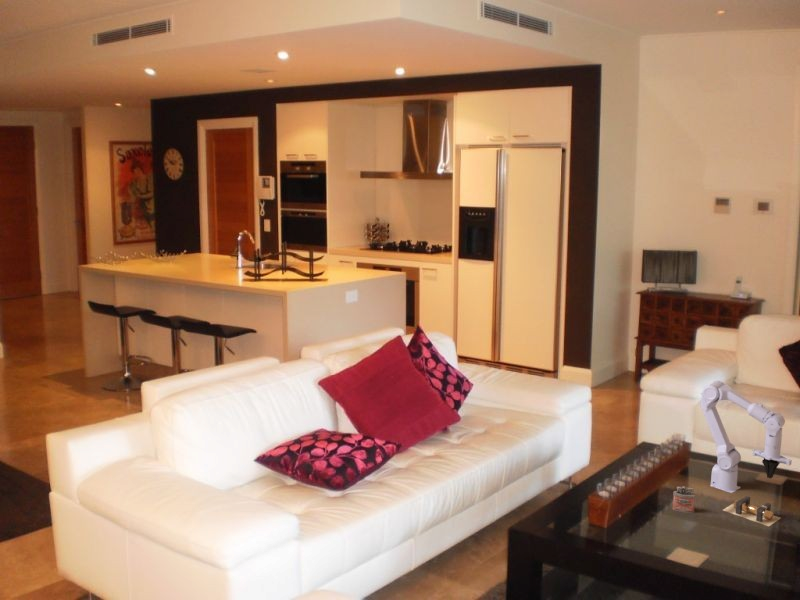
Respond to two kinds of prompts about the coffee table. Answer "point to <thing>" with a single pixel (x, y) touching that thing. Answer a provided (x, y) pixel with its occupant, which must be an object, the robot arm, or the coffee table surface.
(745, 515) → the board
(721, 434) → the robot arm
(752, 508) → the tube
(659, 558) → the coffee table surface
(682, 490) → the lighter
